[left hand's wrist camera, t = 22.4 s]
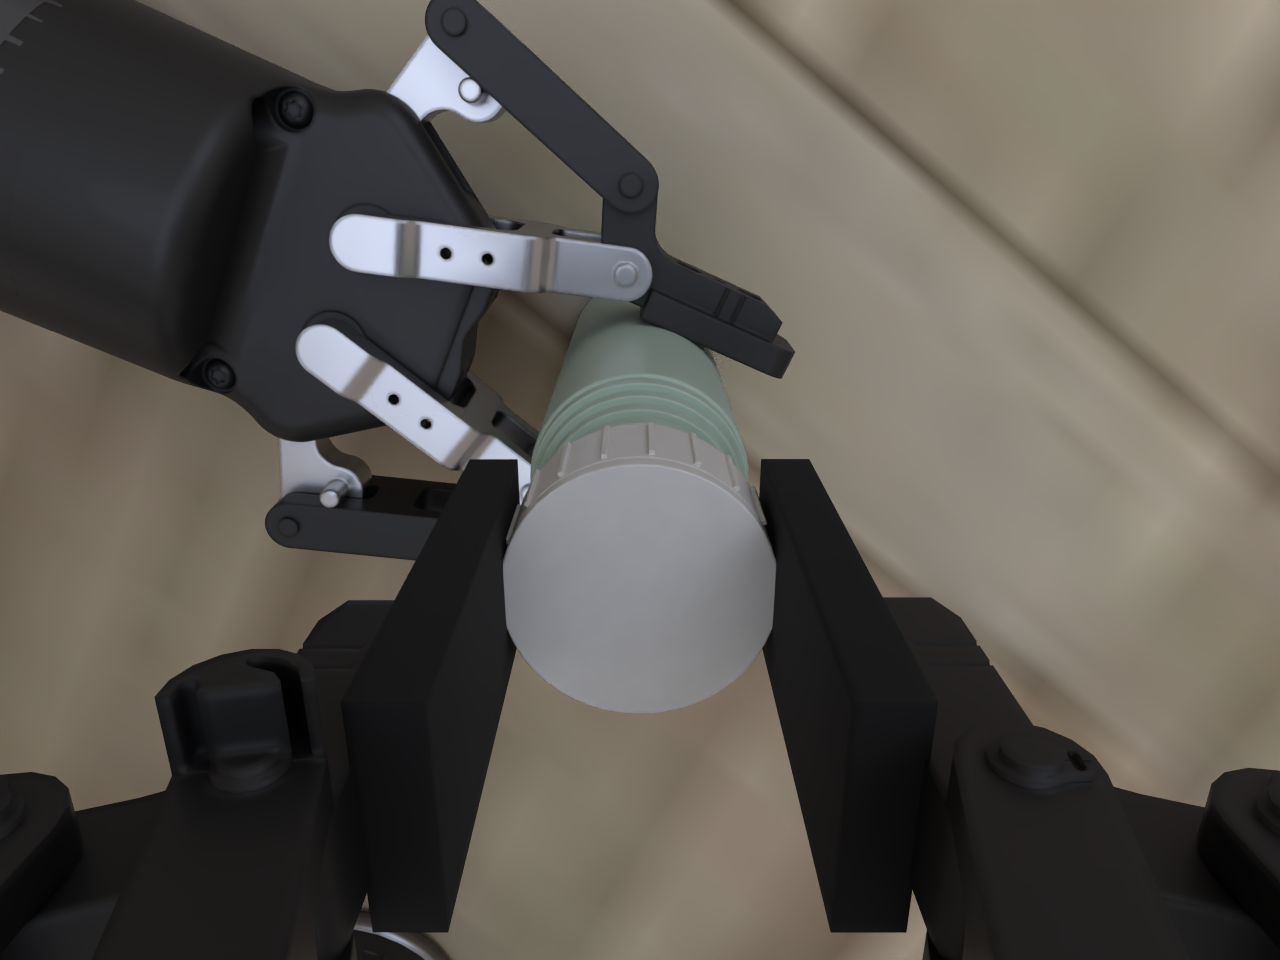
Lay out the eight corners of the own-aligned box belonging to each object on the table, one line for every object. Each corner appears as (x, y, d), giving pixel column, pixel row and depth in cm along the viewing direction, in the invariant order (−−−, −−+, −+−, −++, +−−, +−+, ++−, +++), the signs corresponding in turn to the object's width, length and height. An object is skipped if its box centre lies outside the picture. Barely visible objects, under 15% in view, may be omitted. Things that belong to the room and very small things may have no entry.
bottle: (574, 406, 29) (504, 690, 14) (572, 276, 28) (493, 438, 13) (702, 408, 29) (769, 694, 14) (707, 279, 28) (789, 442, 13)
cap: (518, 651, 15) (502, 717, 13) (505, 419, 14) (487, 459, 12) (759, 651, 15) (774, 717, 13) (772, 419, 14) (791, 460, 12)
